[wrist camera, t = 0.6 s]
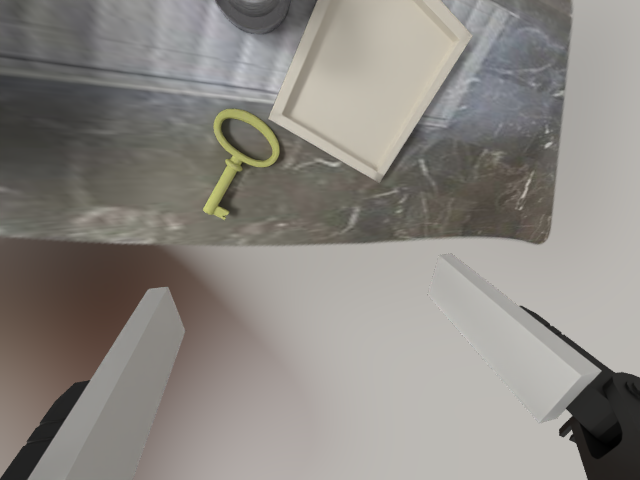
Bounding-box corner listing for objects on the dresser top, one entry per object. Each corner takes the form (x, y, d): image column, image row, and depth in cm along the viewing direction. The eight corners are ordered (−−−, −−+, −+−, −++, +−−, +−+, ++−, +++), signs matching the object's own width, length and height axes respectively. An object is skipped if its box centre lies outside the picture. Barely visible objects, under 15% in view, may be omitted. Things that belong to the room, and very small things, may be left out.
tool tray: (268, 118, 26) (268, 118, 25) (350, -80, 20) (356, -93, 19) (374, 179, 32) (379, 182, 30) (462, 39, 26) (472, 35, 25)
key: (205, 210, 30) (201, 216, 28) (217, 101, 25) (213, 101, 23) (263, 221, 32) (263, 228, 30) (285, 124, 27) (287, 125, 25)
